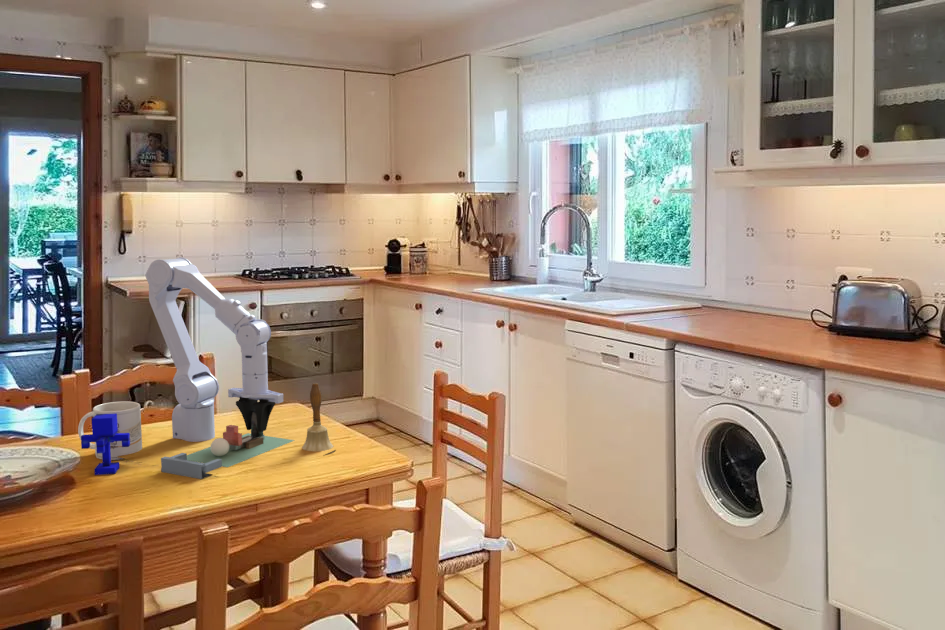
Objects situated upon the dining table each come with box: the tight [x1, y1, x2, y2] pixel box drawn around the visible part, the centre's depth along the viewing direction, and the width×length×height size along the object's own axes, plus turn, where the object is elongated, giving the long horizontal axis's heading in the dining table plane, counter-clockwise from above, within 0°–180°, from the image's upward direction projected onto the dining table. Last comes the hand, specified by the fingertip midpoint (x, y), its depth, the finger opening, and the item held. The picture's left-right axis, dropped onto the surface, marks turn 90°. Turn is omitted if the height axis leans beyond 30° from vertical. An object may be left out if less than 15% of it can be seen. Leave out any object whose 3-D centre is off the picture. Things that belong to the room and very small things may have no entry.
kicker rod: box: [222, 409, 265, 450], centre depth 193 cm, size 4×11×7 cm, turn 155°
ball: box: [209, 437, 229, 456], centre depth 185 cm, size 4×4×4 cm
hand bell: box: [301, 382, 337, 457], centre depth 192 cm, size 8×8×16 cm
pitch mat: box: [187, 432, 295, 468], centre depth 191 cm, size 14×23×1 cm, turn 155°
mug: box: [77, 400, 143, 461], centre depth 190 cm, size 10×12×11 cm
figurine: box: [80, 413, 130, 476], centre depth 177 cm, size 8×8×12 cm
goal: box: [160, 452, 223, 480], centre depth 178 cm, size 11×6×3 cm, turn 65°
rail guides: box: [242, 435, 263, 449], centre depth 194 cm, size 4×5×1 cm
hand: (256, 430), depth 196 cm, fingers closed on kicker rod, 3 cm apart
